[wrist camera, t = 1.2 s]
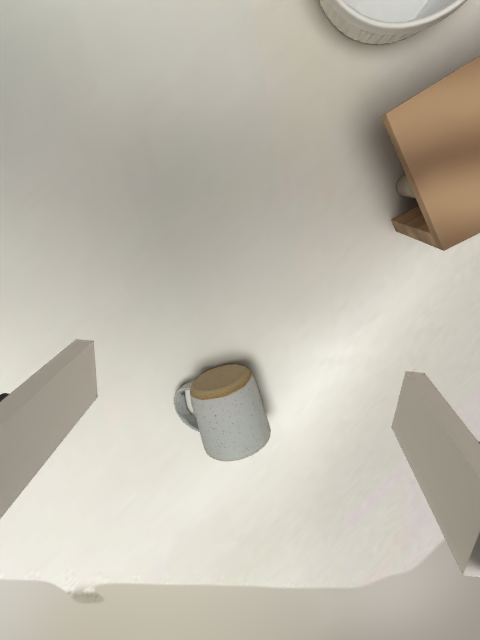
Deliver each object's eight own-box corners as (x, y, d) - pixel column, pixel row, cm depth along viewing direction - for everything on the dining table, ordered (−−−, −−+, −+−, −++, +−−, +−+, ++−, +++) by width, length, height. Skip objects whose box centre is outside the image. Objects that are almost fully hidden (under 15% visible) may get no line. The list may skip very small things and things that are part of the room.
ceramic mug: (253, 354, 43) (248, 388, 36) (272, 414, 46) (270, 458, 38) (167, 373, 45) (146, 409, 38) (189, 430, 48) (173, 474, 40)
